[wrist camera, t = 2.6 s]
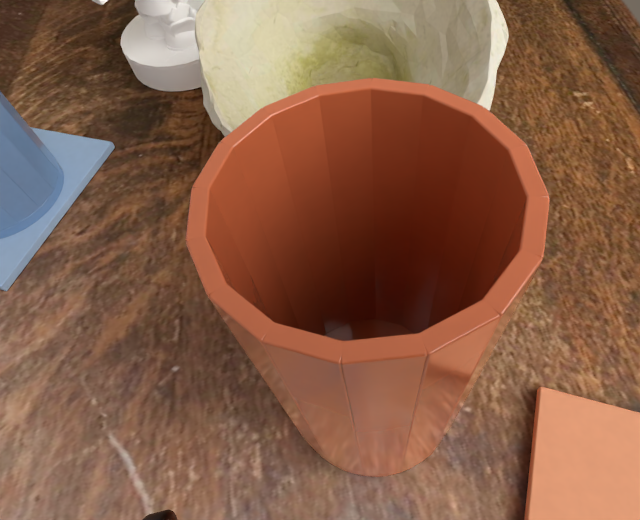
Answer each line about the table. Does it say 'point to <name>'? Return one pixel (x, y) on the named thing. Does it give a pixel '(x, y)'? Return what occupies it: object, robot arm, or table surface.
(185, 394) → the table surface
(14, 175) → the blue cup
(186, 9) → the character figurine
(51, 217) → the blue mat
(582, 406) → the peach mat
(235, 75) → the bowl
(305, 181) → the terracotta cup
